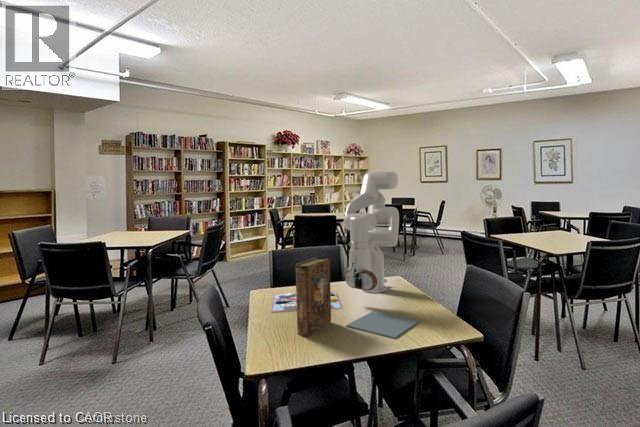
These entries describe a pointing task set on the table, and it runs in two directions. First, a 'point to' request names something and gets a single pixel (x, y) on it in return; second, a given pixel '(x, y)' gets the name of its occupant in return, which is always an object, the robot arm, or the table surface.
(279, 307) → the puzzle board
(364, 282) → the tin
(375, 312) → the mat
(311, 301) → the book
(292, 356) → the table surface
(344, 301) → the table surface
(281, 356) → the table surface
